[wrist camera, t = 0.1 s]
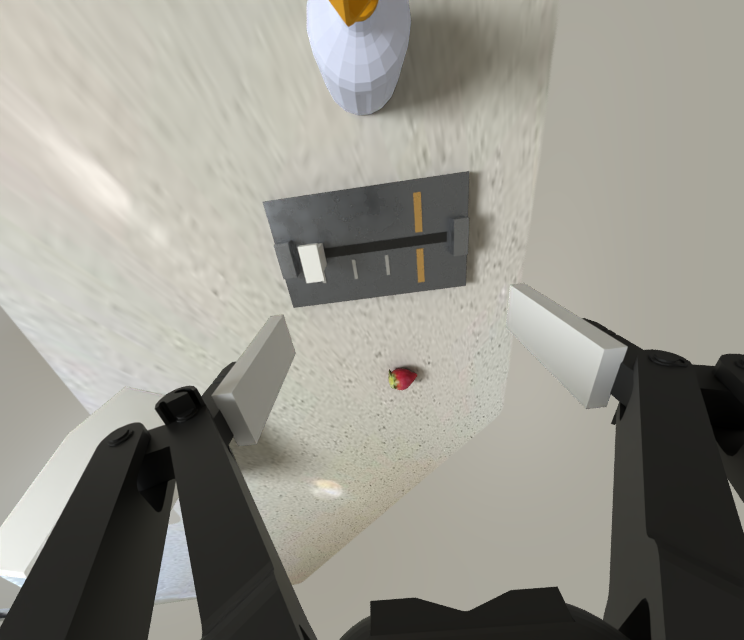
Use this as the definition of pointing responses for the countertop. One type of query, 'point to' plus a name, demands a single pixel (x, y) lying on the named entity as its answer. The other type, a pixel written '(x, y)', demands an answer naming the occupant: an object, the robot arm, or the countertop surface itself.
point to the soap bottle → (359, 49)
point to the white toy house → (67, 478)
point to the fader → (313, 262)
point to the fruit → (401, 378)
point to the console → (375, 238)
